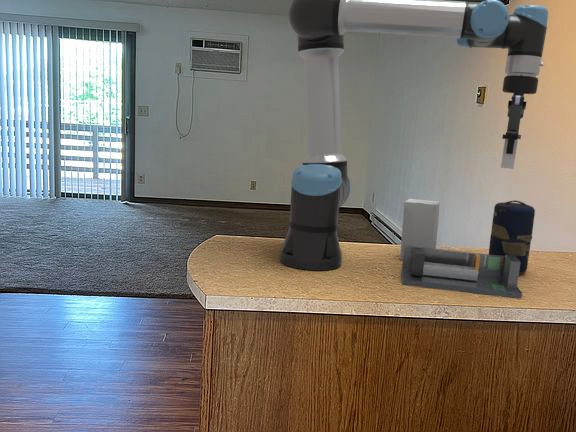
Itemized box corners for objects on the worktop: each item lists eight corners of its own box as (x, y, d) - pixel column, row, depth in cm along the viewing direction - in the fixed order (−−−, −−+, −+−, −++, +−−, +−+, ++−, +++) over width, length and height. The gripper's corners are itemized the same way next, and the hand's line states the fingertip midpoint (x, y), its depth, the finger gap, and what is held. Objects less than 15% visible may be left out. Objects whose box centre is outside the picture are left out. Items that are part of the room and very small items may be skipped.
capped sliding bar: (411, 274, 127) (414, 250, 126) (411, 269, 132) (413, 245, 131) (477, 282, 124) (481, 257, 123) (474, 276, 129) (478, 252, 128)
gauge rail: (402, 284, 124) (405, 253, 123) (401, 270, 136) (404, 241, 134) (521, 298, 120) (526, 265, 118) (510, 282, 131) (514, 252, 130)
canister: (529, 278, 136) (540, 205, 133) (489, 273, 138) (498, 201, 135) (522, 268, 146) (532, 199, 142) (483, 264, 147) (492, 196, 144)
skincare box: (435, 259, 149) (442, 201, 146) (430, 264, 143) (437, 204, 140) (403, 254, 152) (410, 197, 149) (397, 259, 146) (404, 200, 144)
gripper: (540, 72, 119) (524, 171, 123) (537, 81, 142) (524, 164, 146) (503, 70, 122) (488, 167, 126) (505, 79, 144) (493, 161, 148)
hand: (507, 166), depth 136 cm, fingers open, 13 cm apart
